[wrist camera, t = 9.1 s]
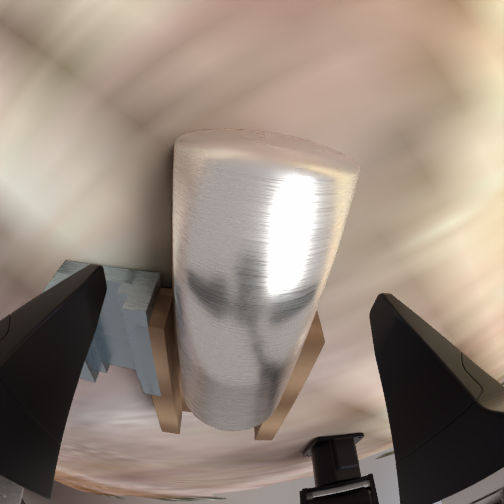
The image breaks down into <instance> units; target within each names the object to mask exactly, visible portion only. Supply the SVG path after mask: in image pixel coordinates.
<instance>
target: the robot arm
mask: <svg viewBox="0 0 504 504" xmlns="http://www.w3.org/2000/svg"><path fill="white" fill-rule="evenodd" d="M106 292H107V283H106V278H105V273H104V268H103V266H102V265H98V264H89V265H88V266H86V267H84V268H82V269H81V270H79V271H77V272H76V273H74V274H72V275H71V276H69V277H67V278H66V279H64V280H62V281H61V282H59V283H58V284H56V285H54V286H53V287H51V288H50V289H48V290H46V291H45V292H43V293H42V294H40V295H38V296H37V297H35V298H34V299H32V300H31V301H29V302H28V303H26V304H25V305H23V306H21V307H20V308H18V309H17V310H15V311H14V312H12V314H9V315H8V316H7V317H5V318H4V319H2V320H1V321H0V504H25V503H24V501H23V499H22V494H23V490H24V488H25V489H27V490H30V491H32V492H34V493H36V494H38V495H40V496H43V497H45V498H47V499H50V497H51V493H52V486H53V481H54V475H55V470H56V465H57V460H58V455H59V451H60V446H61V441H62V437H63V433H64V429H65V425H66V421H67V418H68V414H69V410H70V407H71V403H72V400H73V396H74V393H75V390H76V387H77V384H78V380H79V377H80V374H81V371H82V368H83V365H84V362H85V360H86V357H87V354H88V351H89V348H90V346H91V343H92V340H93V337H94V335H95V332H96V328H97V325H98V321H99V317H100V313H101V310H102V306H103V303H104V299H105V296H106ZM370 324H371V330H372V337H373V344H374V351H375V356H376V361H377V365H378V370H379V374H380V378H381V383H382V388H383V392H384V397H385V402H386V407H387V412H388V418H389V423H390V429H391V434H392V441H393V447H394V453H395V460H396V469H397V477H398V485H399V495H400V504H433V503H435V502H438V501H440V500H441V501H442V504H504V386H503V385H502V384H500V383H499V382H498V381H497V380H495V379H494V378H493V377H491V376H490V375H489V374H488V373H486V372H485V371H484V370H483V369H481V368H480V367H479V366H478V365H476V364H475V363H474V362H473V361H472V360H470V359H469V358H468V357H467V356H466V355H465V354H464V353H462V352H460V350H459V349H458V348H456V347H455V346H454V345H453V344H452V343H451V342H449V341H448V340H447V339H446V338H445V337H444V336H442V335H441V334H440V333H439V332H438V331H436V330H435V329H434V328H433V327H431V326H430V325H429V324H428V323H427V322H425V321H424V320H423V319H422V318H421V317H419V316H418V315H417V314H416V313H414V312H413V311H412V310H411V309H409V308H408V307H407V306H406V305H404V304H403V303H402V302H401V301H399V300H398V299H397V298H396V297H394V296H393V295H392V294H388V293H381V294H379V295H378V296H377V298H376V300H375V303H374V305H373V307H372V309H371V311H370ZM363 437H364V433H360V434H352V435H344V436H334V437H322V438H317V439H315V440H314V442H313V443H312V444H311V445H310V446H309V447H308V448H307V449H306V450H305V451H304V452H303V456H312V463H313V471H314V479H315V487H314V488H309V489H307V488H305V489H302V491H300V504H379V502H378V497H377V492H376V488H375V483H374V479H373V474H368V475H367V476H364V477H361V473H360V468H359V461H358V456H357V451H356V446H355V444H356V443H357V442H359V441H360V440H361V439H362V438H363ZM366 484H368V485H369V487H365V488H364V487H361V488H357V489H353V490H349V491H345V492H340V493H335V494H331V495H326V496H320V497H315V498H313V496H317V495H323V494H328V493H333V492H338V491H342V490H346V489H350V488H355V487H359V486H363V485H366Z"/></svg>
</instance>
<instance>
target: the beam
mask: <svg viewBox="0 0 504 504" xmlns="http://www.w3.org/2000/svg"><path fill="white" fill-rule="evenodd" d="M174 146H175V144H174ZM173 170H174V155H173ZM171 249H172V289H170V288H162V287H161V288H160V291H159V294H158V297H157V300H156V303H155V306H154V309H153V312H152V316H151V319H150V322H149V325H148V330H149V336H150V342H151V348H152V354H153V359H154V364H155V369H156V374H157V379H158V384H159V389H160V393H161V396H158V395H152V394H151V396H152V400H153V403H154V407H155V410H156V413H157V417H158V420H159V423H160V426H161V429H162V431H163V432H169V433H176V434H180V426H181V418H182V411H187V412H191V411H190V409H189V408H188V406H187V404H186V402H185V400H184V396H183V390H182V382H181V372H180V362H179V352H178V340H177V327H176V312H175V294H174V270H173V176H172V217H171ZM324 343H325V340H324V336H323V332H322V328H321V324H320V320H319V316H318V312H317V311H316V314H315V316H314V319H313V322H312V324H311V327H310V329H309V332H308V335H307V337H306V340H305V342H304V345H303V347H302V350H301V352H300V355H299V357H298V360H297V362H296V365H295V367H294V369H293V372H292V374H291V377H290V379H289V381H288V384H287V386H286V388H285V390H284V393H283V395H282V397H281V400H280V402H279V404H278V406H277V408H276V410H275V411H274V413H273V414H272V415H271V416H270V417H269V418H268V419H267V420H266V421H265V422H263V423H262V424H260V425H258V426H256V427H254V430H255V440H273V438H274V436H275V435H276V433H277V431H278V430H279V428H280V426H281V424H282V423H283V421H284V419H285V418H286V416H287V414H288V412H289V411H290V409H291V407H292V405H293V403H294V402H295V400H296V398H297V396H298V394H299V392H300V391H301V389H302V387H303V385H304V383H305V381H306V379H307V377H308V375H309V373H310V372H311V370H312V368H313V366H314V364H315V362H316V360H317V358H318V356H319V354H320V351H321V349H322V347H323V345H324Z"/></svg>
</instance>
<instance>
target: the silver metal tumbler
mask: <svg viewBox="0 0 504 504" xmlns="http://www.w3.org/2000/svg"><path fill="white" fill-rule="evenodd" d="M359 173H360V167H359V165H358V164H357V163H356V162H355V161H354V160H353V159H351V158H350V157H348V156H346V155H344V154H342V153H340V152H338V151H336V150H334V149H332V148H329V147H326V146H324V145H321V144H318V143H315V142H311V141H308V140H304V139H300V138H296V137H292V136H287V135H282V134H277V133H271V132H264V131H255V130H243V129H210V130H201V131H194V132H190V133H186V134H183V135H181V136H179V137H178V138H176V140H175V146H174V170H173V270H174V294H175V312H176V327H177V340H178V352H179V362H180V372H181V382H182V390H183V396H184V400H185V402H186V404H187V406H188V408H189V409H190V411H191V412H192V413H193V414H194V415H195V416H196V417H197V418H198V419H200V420H201V421H202V422H204V423H206V424H208V425H210V426H212V427H215V428H217V429H222V430H228V431H241V430H247V429H250V428H253V427H256V426H258V425H260V424H262V423H263V422H265V421H266V420H267V419H268V418H269V417H270V416H271V415H272V414H273V413H274V411H275V410H276V408H277V406H278V404H279V402H280V400H281V397H282V395H283V393H284V390H285V388H286V386H287V384H288V381H289V379H290V377H291V374H292V372H293V369H294V367H295V365H296V362H297V360H298V357H299V355H300V352H301V350H302V347H303V345H304V342H305V340H306V337H307V335H308V332H309V329H310V327H311V324H312V322H313V319H314V316H315V314H316V311H317V308H318V305H319V303H320V300H321V297H322V294H323V291H324V289H325V286H326V283H327V280H328V277H329V274H330V271H331V268H332V265H333V262H334V259H335V256H336V253H337V250H338V246H339V243H340V240H341V237H342V234H343V230H344V227H345V224H346V220H347V217H348V214H349V210H350V207H351V203H352V199H353V196H354V192H355V189H356V185H357V181H358V177H359Z"/></svg>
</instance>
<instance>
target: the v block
mask: <svg viewBox="0 0 504 504" xmlns="http://www.w3.org/2000/svg"><path fill="white" fill-rule="evenodd" d="M88 265H89V264H88V263H81V262H74V261H68V260H66V261H65V262H64V263H63V265H62V266H61V267H60V269H59V270H58V271H57V273H56V274H55V275H54V277H53V278H52V280H51V281H50V282H49V284H48V285H47V287H46V288H45V289H44V291H43V292H45V291H46V290H48V289H50V288H51V287H53V286H54V285H56V284H58V283H59V282H61V281H62V280H64V279H66V278H67V277H69V276H71V275H72V274H74V273H76V272H77V271H79V270H81V269H82V268H84V267H86V266H88ZM103 268H104V273H105V278H106V283H107V292H106V296H105V299H104V303H103V306H102V310H101V313H100V317H99V321H98V325H97V328H96V332H95V335H94V337H93V340H92V343H91V346H90V348H89V351H88V354H87V357H86V360H85V362H84V365H83V368H82V371H81V374H80V378H81V379H84V380H87V381H91V382H96V379H97V376H98V373H99V371H100V372H104V373H107V371H108V368H109V365H115V366H120V367H125V368H130V369H135V370H136V374H137V377H138V380H140V382H141V386H142V389H143V392H144V393H146V394H152V395H158V396H161V393H160V389H159V384H158V379H157V374H156V369H155V364H154V359H153V354H152V348H151V342H150V336H149V330H148V325H149V322H150V319H151V316H152V312H153V309H154V306H155V303H156V300H157V297H158V294H159V291H160V288H161V282H160V273H156V272H148V271H140V270H132V269H125V268H117V267H110V266H103ZM43 292H42V293H43Z"/></svg>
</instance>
